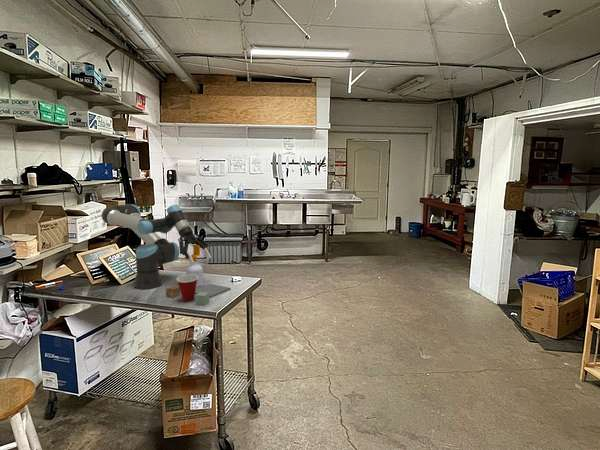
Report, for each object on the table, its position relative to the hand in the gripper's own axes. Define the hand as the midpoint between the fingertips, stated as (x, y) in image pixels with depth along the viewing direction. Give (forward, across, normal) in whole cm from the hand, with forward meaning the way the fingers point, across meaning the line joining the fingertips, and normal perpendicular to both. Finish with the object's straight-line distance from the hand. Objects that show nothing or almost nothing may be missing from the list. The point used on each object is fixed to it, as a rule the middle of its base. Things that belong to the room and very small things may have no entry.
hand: (201, 261), depth 210 cm
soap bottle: (+9, +1, +14) cm, 17 cm away
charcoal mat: (+18, -3, +2) cm, 18 cm away
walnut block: (+11, -19, +11) cm, 25 cm away
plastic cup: (+18, -19, +2) cm, 26 cm away
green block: (+24, -19, -6) cm, 31 cm away
